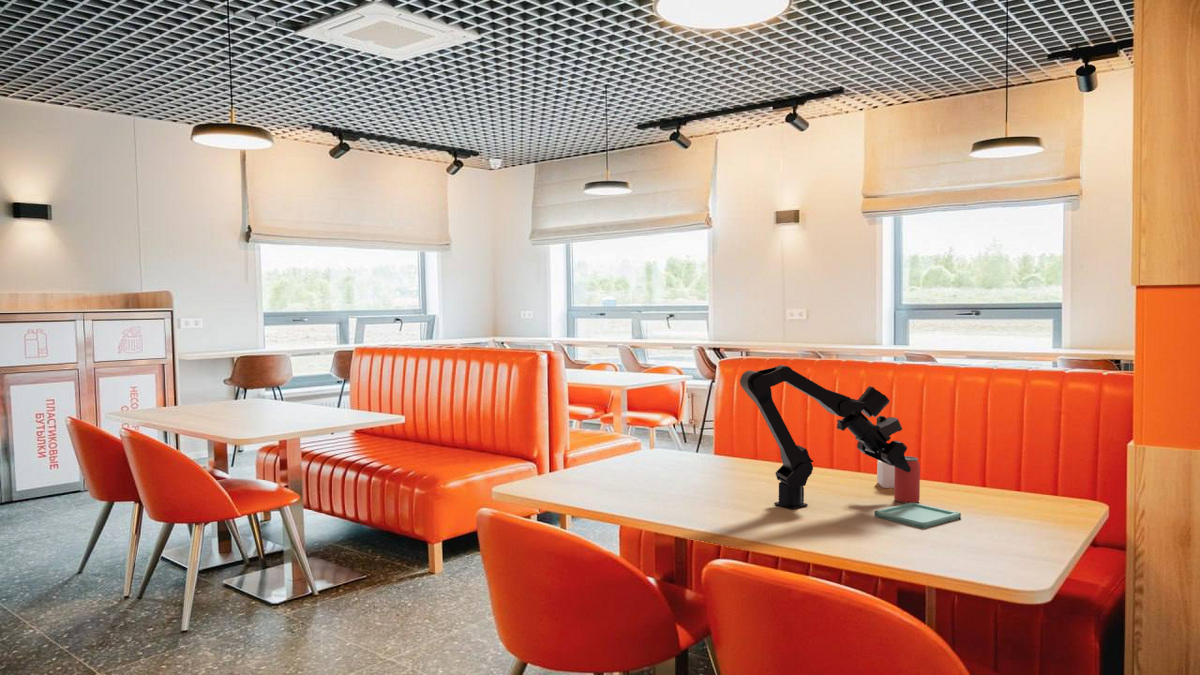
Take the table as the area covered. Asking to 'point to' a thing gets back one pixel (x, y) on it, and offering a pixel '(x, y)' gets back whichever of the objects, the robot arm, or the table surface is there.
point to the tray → (917, 514)
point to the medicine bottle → (885, 475)
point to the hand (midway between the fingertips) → (901, 467)
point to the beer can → (907, 482)
